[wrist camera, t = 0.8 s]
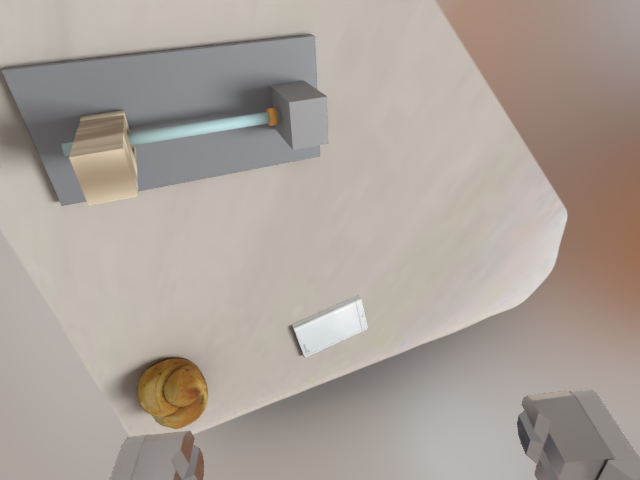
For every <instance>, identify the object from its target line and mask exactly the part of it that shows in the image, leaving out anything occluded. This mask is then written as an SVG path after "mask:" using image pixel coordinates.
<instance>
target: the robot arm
mask: <svg viewBox="0 0 640 480" xmlns="http://www.w3.org/2000/svg"><path fill="white" fill-rule="evenodd" d="M522 406H523V408H524V410H525V411H523V412H522V413H521V414H520V415H519V416H518V421H517V427H518V435H519V438H520V441H521V444H522V447H523V449H524V451H525V454H526V455H527V456H528V457H529V458H531V459H532V460H533V461H534V462H535V463H537V465H536V470H535V476H536V478H537V480H640V456H639V455H638V453H637V452H636V450H635V449H634V447H633V446H632V445H631V443H630V442H629V440H628V439H627V437H626V436H625V434H624V433H623V431H622V430H621V428H620V427H619V425H618V424H617V422H616V421H615V420H614V418H613V417H612V415H611V414H610V412H609V411H608V409H607V408H606V406H605V405H604V403H603V402H602V400H601V399H600V397H599V396H598V394H597V393H596V392H594V391H593V390H591V389H581V390H571V391H560V392H551V393H543V394H535V395H527V396H526V397H524V398H523V401H522ZM193 443H194V436H193V435H192V433H191V431H183V432H174V433H164V434H155V435H141V436H133V437H127V439H126V440H125V441H124V443H123V444H122V446H121V449H120V452H119V454H118V458H117V460H116V463H115V466H114V468H113V471H112V474H111V477H110V480H203V476H204V460H203V455H202V452H201V450H200V448H199V447H197V446H195V445H193Z"/></svg>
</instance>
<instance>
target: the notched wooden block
mask: <svg viewBox="0 0 640 480" xmlns="http://www.w3.org/2000/svg"><path fill="white" fill-rule="evenodd" d="M128 133H131V132H130V128H129V125H128V122H127V119H126V115H125V112H124V110H119V111H112V112H105V113H98V114H91V115H84V116H81V118H80V123H79V127H78V129H77V131H76V135H75V138H74V142H73V145H72V149H71V152H70V155H69V159H70V161H71V164H72V166H73V169H74V171H75V174H76V176H77V179H78V181H79V184H80V186H81V188H82V191H83V193H84V196H85V198H86V201H87V203H88V206H91V205H96V204H101V203H106V202H111V201H117V200H122V199H127V198H132V197H137V196H138V178H137V161H136V148H135V145H133V146H131V145H130V141H129V138H128V135H127V134H128Z"/></svg>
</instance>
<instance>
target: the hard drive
mask: <svg viewBox="0 0 640 480" xmlns="http://www.w3.org/2000/svg"><path fill="white" fill-rule="evenodd" d="M292 327H293V330H294V332H295V335H296V338H297V340H298V343H299V345H300V348H301V351H302V353H303V356H304V358H306V357H308V356H310V355H312V354H314V353H317V352H319V351H321V350H323V349H325V348H327V347H330V346H332V345H334V344H336V343H338V342H341V341H343V340H345V339H347V338H349V337H352V336H354V335H356V334H358V333H360V332H362V331H364V330H366V329H368V327H367V322H366V318H365V313H364V308H363V304H362V300H361V297H360V295H358V296H356V297H354V298H351V299H349V300H347V301H345V302H342V303H340V304H338V305H335V306H333V307H331V308H328V309H326V310H324V311H322V312H319V313H317V314H315V315H312V316H310V317H308V318H306V319H303V320H301V321H299V322H297V323H294V324H292Z"/></svg>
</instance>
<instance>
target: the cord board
mask: <svg viewBox="0 0 640 480" xmlns="http://www.w3.org/2000/svg"><path fill="white" fill-rule="evenodd" d="M2 73H3V75H4V77H5V80H6V82H7V84H8V86H9V89H10V91H11V93H12V95H13V98H14V100H15V102H16V104H17V107H18V109H19V111H20V113H21V116H22V118H23V120H24V122H25V125H26V127H27V129H28V131H29V134H30V136H31V138H32V140H33V142H34V145H35V147H36V149H37V151H38V154H39V156H40V158H41V160H42V163H43V165H44V167H45V169H46V172H47V174H48V176H49V178H50V181H51V183H52V185H53V187H54V190H55V192H56V194H57V196H58V199H59V201H60V203H61V205H62V206H64V205H69V204H75V203H80V202H85V201H86V198H85V196H84V193H83V191H82V188H81V186H80V184H79V181H78V179H77V176H76V174H75V171H74V169H73V166H72V164H71V161H70V159H69V155H70V152H71V149H72V145H73V142H74V138H75V135H76V131H77V129H78V127H79V123H80V118H81V116H84V115H91V114H98V113H105V112H112V111H119V110H124V112H125V115H126V119H127V122H128V125H129V128H130V132H131V133H128V134H127V135H128V138H129V141H130V145H131V146H133V145H135V148H136V161H137V178H138V191H142V190H148V189H153V188H158V187H163V186H168V185H174V184H179V183H184V182H189V181H194V180H200V179H205V178H210V177H215V176H221V175H226V174H231V173H236V172H241V171H247V170H252V169H257V168H262V167H267V166H273V165H278V164H283V163H288V162H294V161H299V160H304V159H309V158H314V157H320V145H324V144H328V114H327V96H325V95H324V94H323V93H321V92H320V91H318V90H317V71H316V48H315V36H314V35H302V36H293V37H284V38H275V39H266V40H257V41H247V42H238V43H229V44H220V45H211V46H202V47H192V48H183V49H174V50H165V51H156V52H146V53H137V54H128V55H119V56H110V57H101V58H91V59H82V60H73V61H64V62H55V63H46V64H36V65H27V66H18V67H9V68H4V69H3V70H2Z"/></svg>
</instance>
